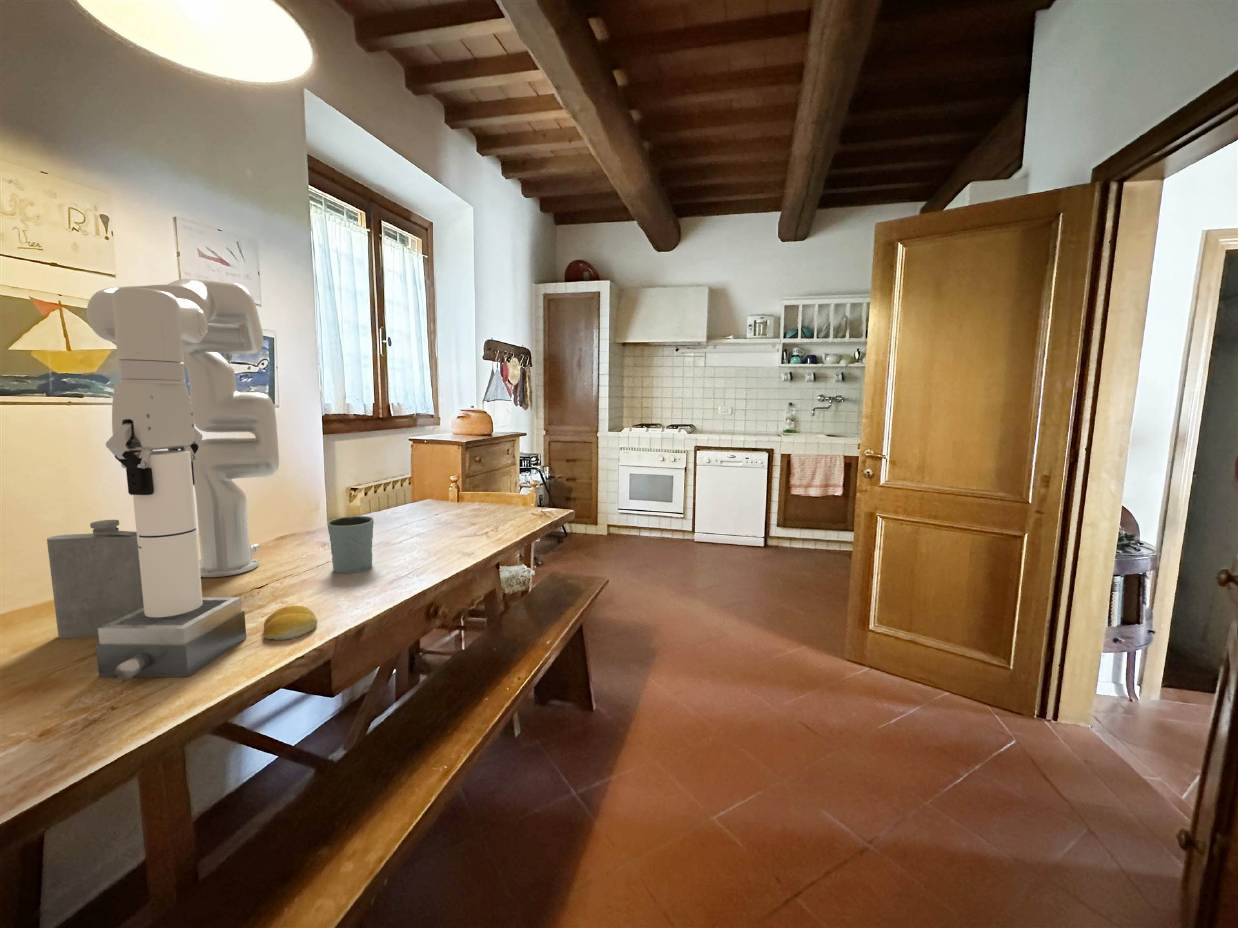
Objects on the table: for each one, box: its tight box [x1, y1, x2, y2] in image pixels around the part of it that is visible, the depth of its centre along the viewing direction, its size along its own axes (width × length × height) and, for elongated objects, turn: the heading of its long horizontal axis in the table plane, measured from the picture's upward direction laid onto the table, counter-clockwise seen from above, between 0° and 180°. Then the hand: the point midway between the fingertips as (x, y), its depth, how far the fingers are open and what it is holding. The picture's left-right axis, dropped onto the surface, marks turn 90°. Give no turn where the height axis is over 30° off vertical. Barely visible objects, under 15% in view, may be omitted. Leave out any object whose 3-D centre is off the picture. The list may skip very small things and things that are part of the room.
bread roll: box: [262, 605, 318, 641], centre depth 96 cm, size 8×9×4 cm
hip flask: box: [46, 519, 144, 640], centre depth 93 cm, size 16×4×20 cm, turn 99°
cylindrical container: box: [132, 449, 203, 617], centre depth 83 cm, size 7×7×25 cm
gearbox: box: [95, 596, 247, 681], centre depth 84 cm, size 16×13×8 cm
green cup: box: [327, 515, 375, 574], centre depth 130 cm, size 10×10×12 cm
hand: (163, 489), depth 82 cm, fingers closed on cylindrical container, 7 cm apart
